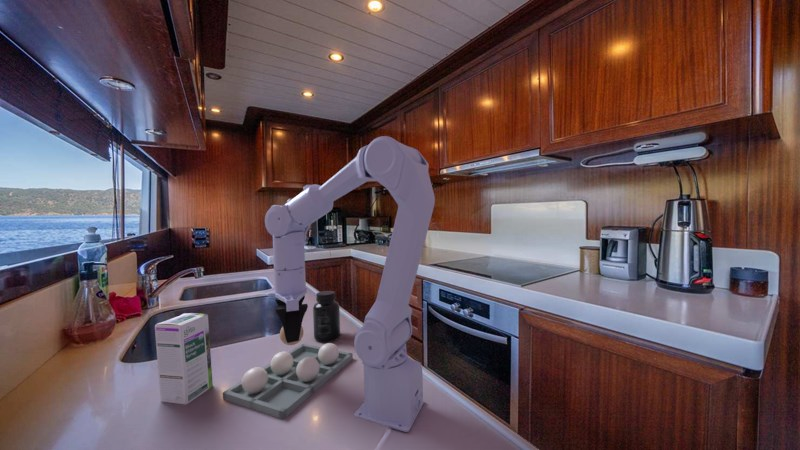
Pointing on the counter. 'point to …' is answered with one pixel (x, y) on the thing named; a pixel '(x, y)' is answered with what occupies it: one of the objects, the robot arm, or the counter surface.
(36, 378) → the counter surface
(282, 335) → the brown egg
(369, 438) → the counter surface
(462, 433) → the counter surface
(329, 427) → the counter surface
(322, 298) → the supplement bottle
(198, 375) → the syrup box
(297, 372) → the egg carton
